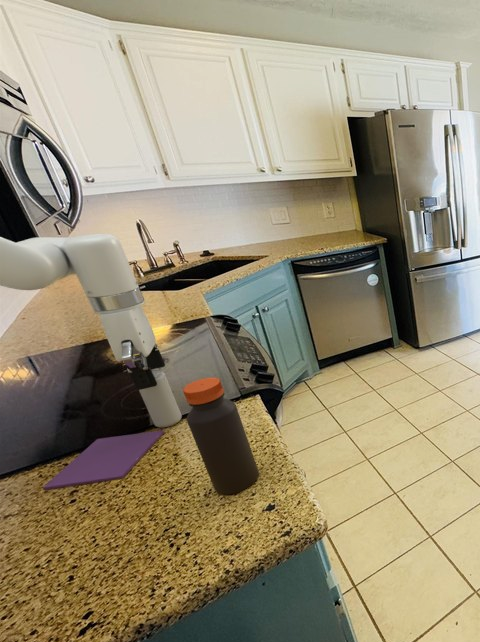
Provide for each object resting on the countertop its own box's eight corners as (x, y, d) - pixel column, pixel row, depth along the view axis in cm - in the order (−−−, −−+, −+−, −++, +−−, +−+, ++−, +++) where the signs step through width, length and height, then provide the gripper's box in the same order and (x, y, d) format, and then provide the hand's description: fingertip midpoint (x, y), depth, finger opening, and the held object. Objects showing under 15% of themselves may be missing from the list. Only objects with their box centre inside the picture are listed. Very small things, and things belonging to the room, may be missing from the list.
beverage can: (149, 427, 88) (127, 379, 83) (171, 414, 92) (151, 368, 88) (167, 430, 87) (145, 381, 82) (188, 417, 91) (169, 370, 87)
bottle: (214, 502, 68) (173, 400, 60) (215, 478, 74) (176, 382, 66) (260, 485, 72) (227, 387, 64) (258, 463, 77) (226, 370, 69)
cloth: (43, 490, 72) (42, 487, 71) (98, 441, 84) (97, 438, 84) (122, 478, 74) (121, 476, 74) (164, 432, 86) (163, 430, 86)
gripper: (104, 292, 84) (138, 365, 91) (76, 317, 70) (118, 401, 77) (150, 286, 87) (179, 357, 94) (132, 309, 73) (168, 390, 80)
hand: (152, 377), depth 85 cm, fingers open, 9 cm apart
